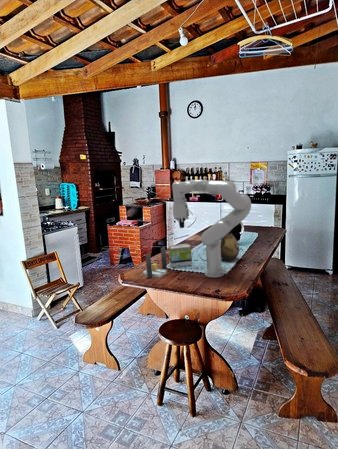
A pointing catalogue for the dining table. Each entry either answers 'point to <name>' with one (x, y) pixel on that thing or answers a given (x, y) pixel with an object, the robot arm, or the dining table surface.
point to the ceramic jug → (229, 248)
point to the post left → (149, 266)
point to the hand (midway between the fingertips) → (182, 227)
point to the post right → (163, 258)
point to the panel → (157, 272)
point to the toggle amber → (154, 266)
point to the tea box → (180, 255)
